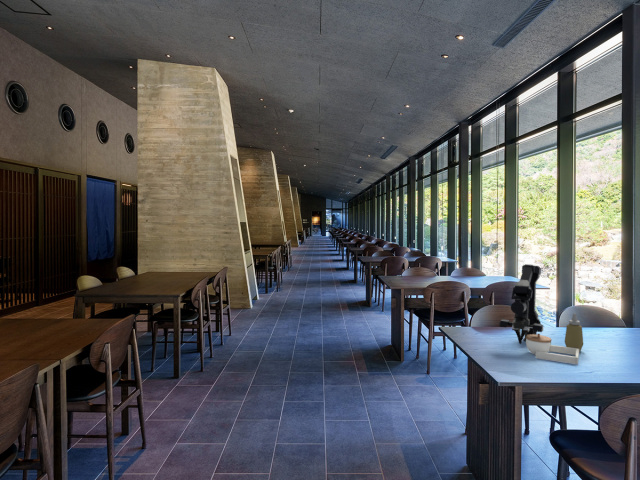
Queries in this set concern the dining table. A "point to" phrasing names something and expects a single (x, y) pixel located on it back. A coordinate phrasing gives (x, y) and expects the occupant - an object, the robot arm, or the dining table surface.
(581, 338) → the squeeze bottle
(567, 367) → the dining table surface
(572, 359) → the box
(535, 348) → the lidded jar
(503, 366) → the dining table surface
